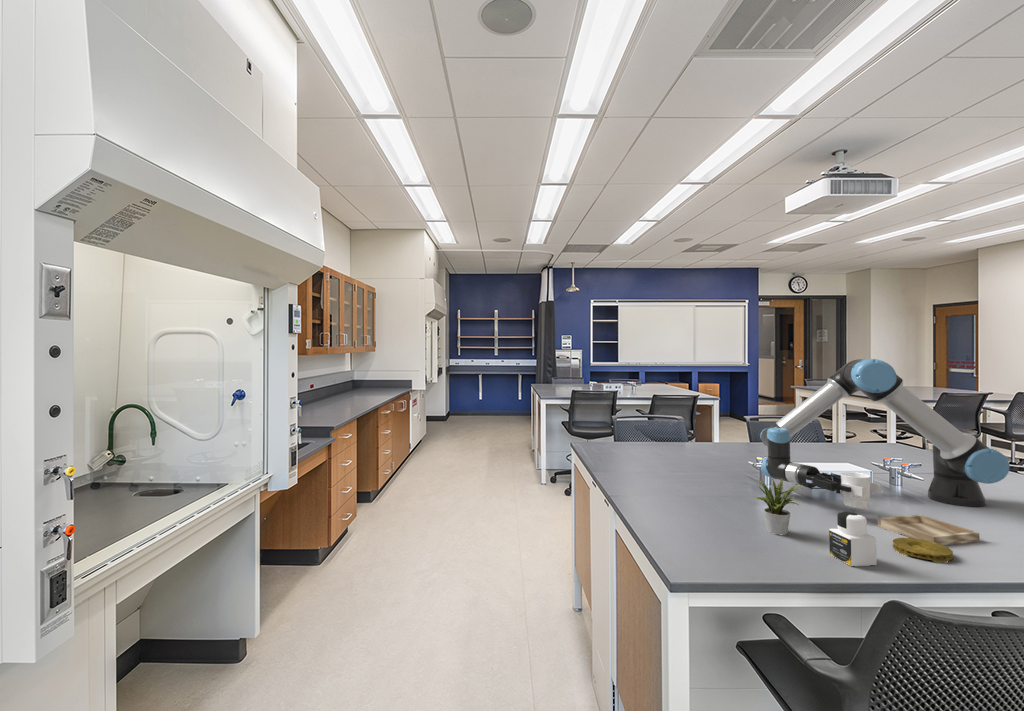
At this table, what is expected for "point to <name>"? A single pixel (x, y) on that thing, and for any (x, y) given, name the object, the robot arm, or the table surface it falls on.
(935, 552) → the gold notched disc
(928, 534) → the tray
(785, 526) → the house plant
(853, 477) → the white cup
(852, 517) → the medicine bottle
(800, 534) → the table surface
